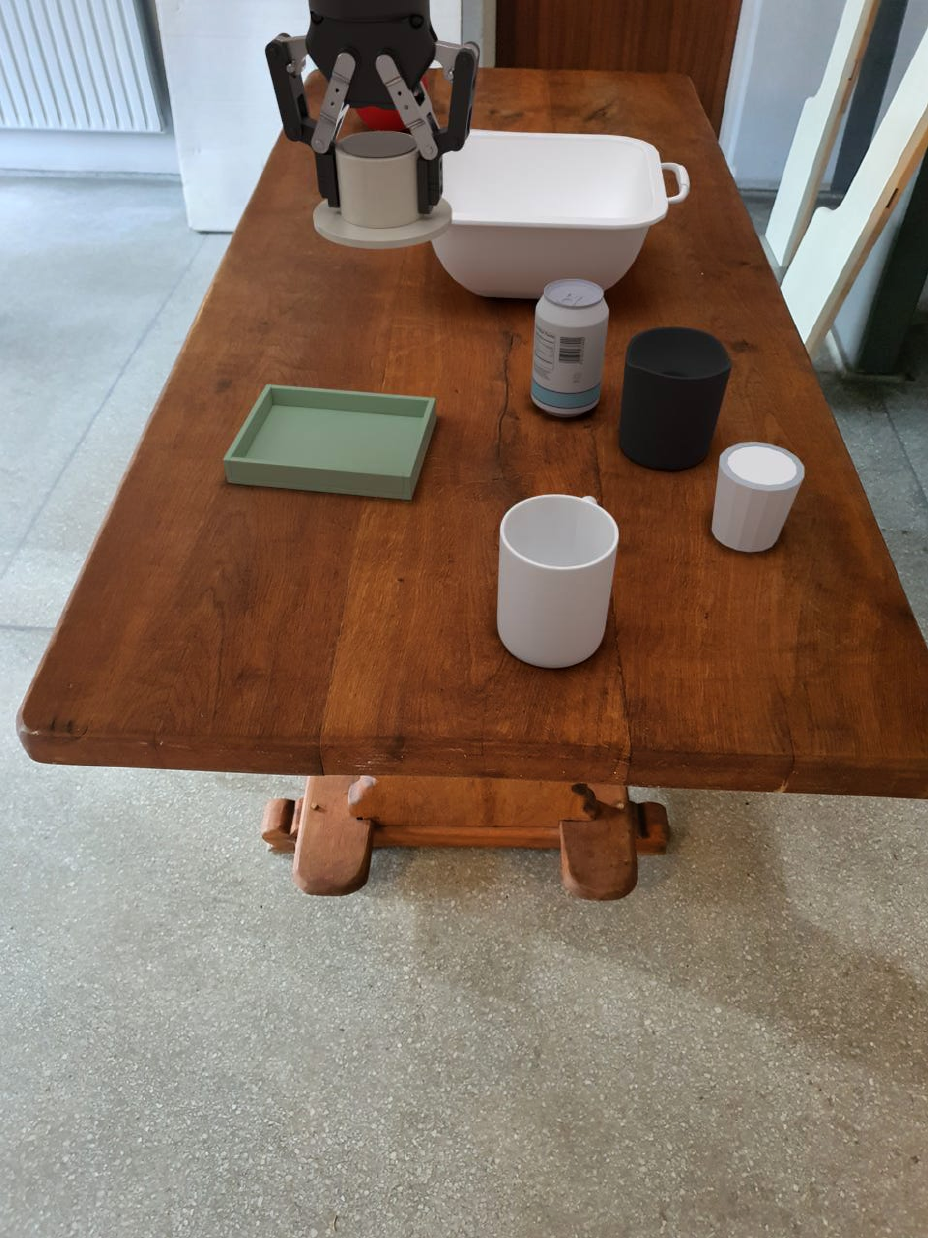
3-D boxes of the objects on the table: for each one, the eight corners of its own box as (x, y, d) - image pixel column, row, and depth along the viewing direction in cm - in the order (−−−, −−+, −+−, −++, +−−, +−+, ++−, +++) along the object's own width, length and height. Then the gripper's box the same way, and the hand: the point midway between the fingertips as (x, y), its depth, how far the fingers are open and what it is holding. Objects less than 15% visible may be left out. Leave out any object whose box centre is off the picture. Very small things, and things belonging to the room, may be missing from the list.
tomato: (348, 140, 153) (341, 52, 144) (359, 117, 161) (352, 32, 152) (424, 142, 152) (422, 53, 143) (431, 118, 160) (429, 33, 152)
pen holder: (730, 442, 91) (752, 348, 84) (680, 487, 86) (699, 391, 79) (647, 408, 96) (662, 316, 89) (595, 449, 91) (606, 354, 84)
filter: (296, 244, 65) (286, 165, 62) (334, 190, 72) (327, 116, 69) (438, 253, 64) (436, 173, 60) (463, 198, 71) (463, 123, 67)
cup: (478, 649, 72) (480, 547, 65) (539, 556, 79) (547, 456, 72) (581, 685, 69) (594, 583, 62) (633, 585, 77) (650, 484, 70)
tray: (227, 483, 87) (222, 459, 85) (270, 406, 96) (266, 383, 94) (411, 500, 85) (409, 476, 83) (436, 420, 94) (435, 397, 92)
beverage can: (610, 398, 97) (623, 286, 89) (578, 430, 93) (589, 316, 85) (551, 379, 100) (559, 269, 91) (517, 409, 96) (522, 296, 87)
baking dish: (665, 233, 126) (680, 131, 118) (681, 336, 106) (701, 223, 97) (412, 225, 129) (408, 124, 120) (381, 324, 108) (374, 212, 99)
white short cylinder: (791, 519, 83) (812, 452, 78) (775, 565, 79) (796, 498, 74) (714, 499, 85) (730, 432, 80) (695, 543, 81) (710, 476, 76)
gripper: (225, -76, 54) (269, 221, 66) (473, -68, 52) (472, 235, 64) (267, -97, 59) (300, 181, 71) (494, -91, 57) (489, 193, 69)
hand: (382, 205), depth 67 cm, fingers closed on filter, 6 cm apart
